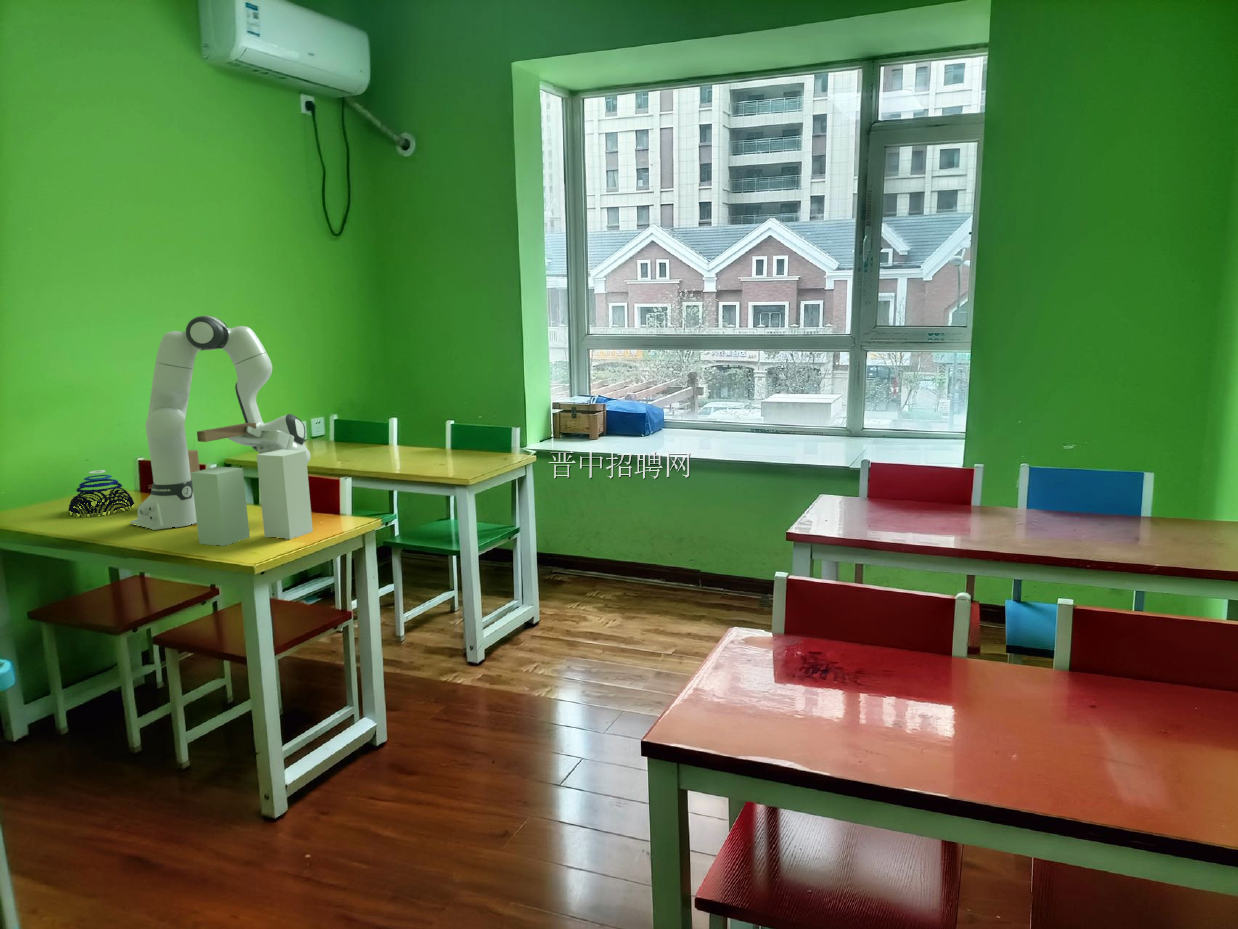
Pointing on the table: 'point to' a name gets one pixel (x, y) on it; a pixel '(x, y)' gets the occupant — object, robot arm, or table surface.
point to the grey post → (284, 493)
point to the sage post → (220, 505)
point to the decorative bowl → (76, 501)
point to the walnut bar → (223, 432)
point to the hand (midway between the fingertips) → (240, 428)
